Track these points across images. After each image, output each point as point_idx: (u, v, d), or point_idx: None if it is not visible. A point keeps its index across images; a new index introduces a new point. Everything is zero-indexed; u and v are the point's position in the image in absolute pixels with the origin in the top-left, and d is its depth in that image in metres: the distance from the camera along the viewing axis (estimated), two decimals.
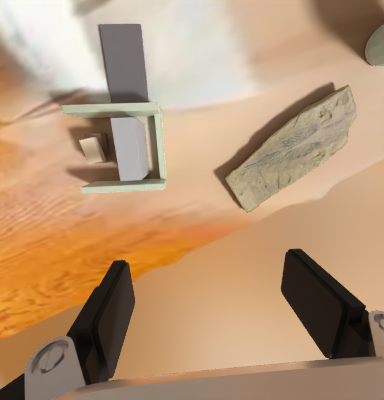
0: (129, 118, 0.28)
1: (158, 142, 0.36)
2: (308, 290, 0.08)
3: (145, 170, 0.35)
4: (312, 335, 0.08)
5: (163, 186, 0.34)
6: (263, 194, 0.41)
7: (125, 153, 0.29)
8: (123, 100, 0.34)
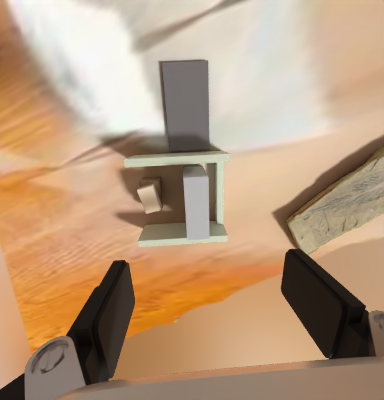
0: (204, 177, 0.25)
1: (218, 187, 0.32)
2: (308, 290, 0.08)
3: None
4: (312, 335, 0.08)
5: (226, 238, 0.31)
6: (324, 237, 0.38)
7: (195, 213, 0.26)
8: (182, 143, 0.31)
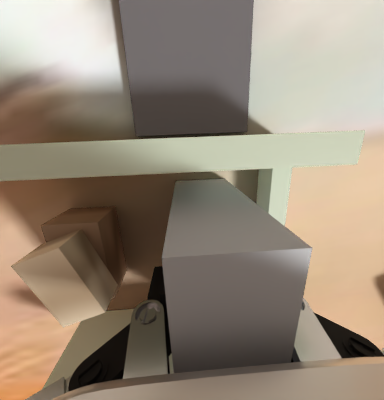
0: (286, 254, 0.04)
1: None
2: None
3: None
4: None
5: None
6: None
7: None
8: (171, 113, 0.11)
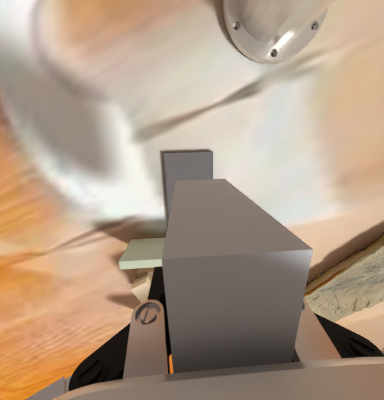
0: (287, 256, 0.04)
1: None
2: None
3: None
4: None
5: None
6: (334, 315, 0.34)
7: None
8: None
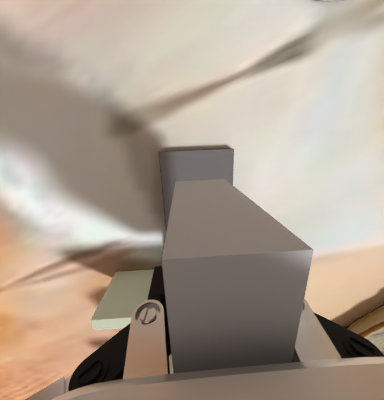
0: (287, 256, 0.04)
1: None
2: None
3: None
4: None
5: None
6: None
7: None
8: None
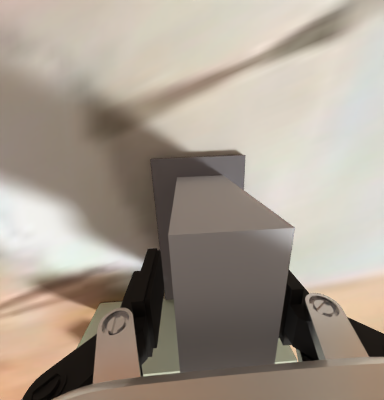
0: (273, 233, 0.05)
1: None
2: None
3: None
4: None
5: None
6: None
7: (219, 366, 0.06)
8: None
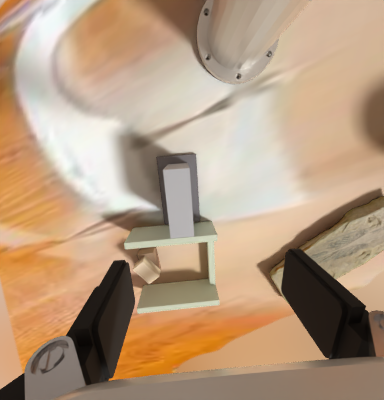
0: (185, 169, 0.23)
1: (209, 254, 0.36)
2: (308, 290, 0.08)
3: None
4: (312, 335, 0.08)
5: (218, 302, 0.34)
6: None
7: (177, 208, 0.25)
8: None
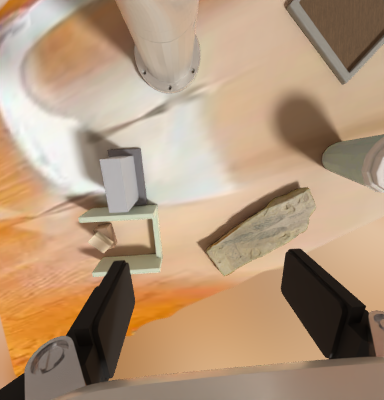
0: (116, 159, 0.31)
1: (154, 231, 0.44)
2: (308, 290, 0.08)
3: (133, 199, 0.38)
4: (312, 335, 0.08)
5: (158, 270, 0.42)
6: (238, 262, 0.48)
7: (113, 189, 0.32)
8: None
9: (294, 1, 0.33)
